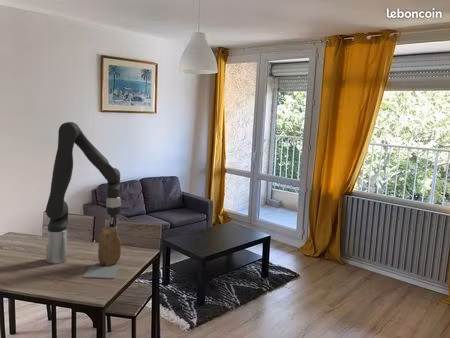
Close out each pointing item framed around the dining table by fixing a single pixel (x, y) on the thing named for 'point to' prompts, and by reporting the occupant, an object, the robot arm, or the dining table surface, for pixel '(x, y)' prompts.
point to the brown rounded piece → (109, 246)
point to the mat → (101, 272)
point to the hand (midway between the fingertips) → (114, 235)
